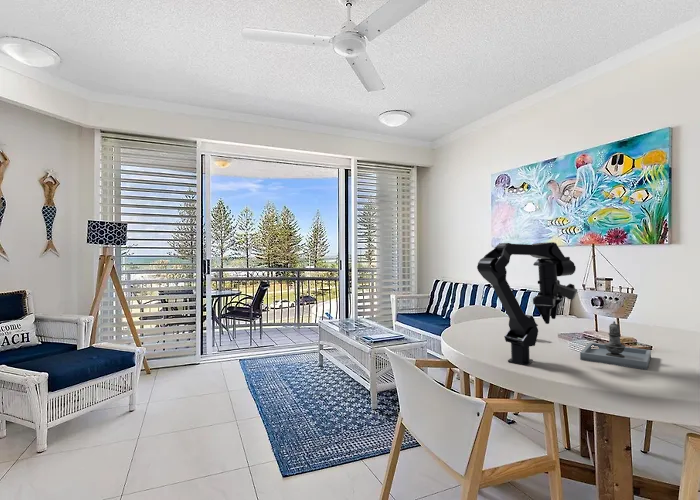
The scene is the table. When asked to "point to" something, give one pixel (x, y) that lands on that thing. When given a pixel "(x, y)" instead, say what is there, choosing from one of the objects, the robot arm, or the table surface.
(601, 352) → the tray
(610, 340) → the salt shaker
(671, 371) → the table surface
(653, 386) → the table surface
